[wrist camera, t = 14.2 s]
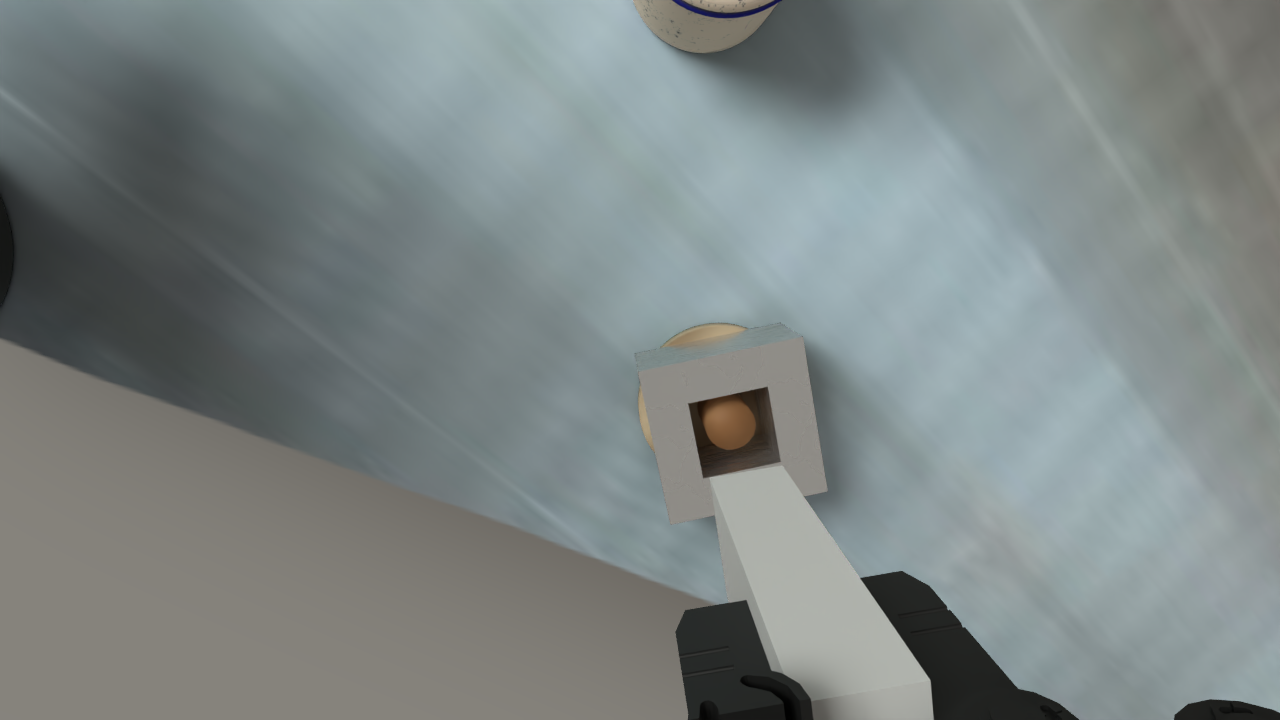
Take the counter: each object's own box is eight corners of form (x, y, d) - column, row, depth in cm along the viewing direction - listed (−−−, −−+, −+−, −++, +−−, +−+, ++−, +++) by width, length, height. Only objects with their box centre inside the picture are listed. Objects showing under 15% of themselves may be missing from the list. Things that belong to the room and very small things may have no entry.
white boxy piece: (634, 353, 41) (637, 371, 37) (780, 322, 41) (802, 336, 36) (663, 489, 43) (670, 524, 38) (803, 460, 43) (827, 491, 38)
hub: (607, 418, 44) (606, 446, 38) (700, 291, 42) (713, 301, 37) (730, 502, 45) (746, 540, 40) (825, 382, 44) (855, 405, 38)
